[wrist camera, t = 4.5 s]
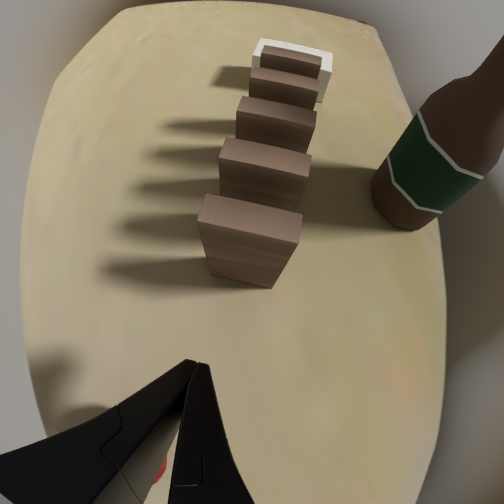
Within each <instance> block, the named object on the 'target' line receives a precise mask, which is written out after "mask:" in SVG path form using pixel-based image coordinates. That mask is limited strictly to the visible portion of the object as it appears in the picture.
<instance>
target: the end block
mask: <svg viewBox="0 0 504 504" xmlns="http://www.w3.org/2000/svg"><path fill="white" fill-rule="evenodd" d="M264 45H268V46H274V47H279V48H284V49H289V50H294V51H299V52H303V53H308V54H312V55H316V56H320V57H322V64H321V68H320V72H319V75H318V79H317V80H320V85H319V93H318V96H317V99H316V101H317V102H321V103H322V100H323V97H324V94H325V91H326V88H327V85H328V82H329V79H330V76H331V73H332V53H329V52H325V51H321V50H318V49H314V48H309V47H305V46H301V45H296V44H291V43H286V42H281V41H276V40H270V39H264V38H261V39H260V41H259V43H258V45H257V47H256V49H255V51H254V53H253V57H252V68H251V74H252V72H253V70H254V67H260V57H261V52H262V49H263V47H264Z"/></svg>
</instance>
